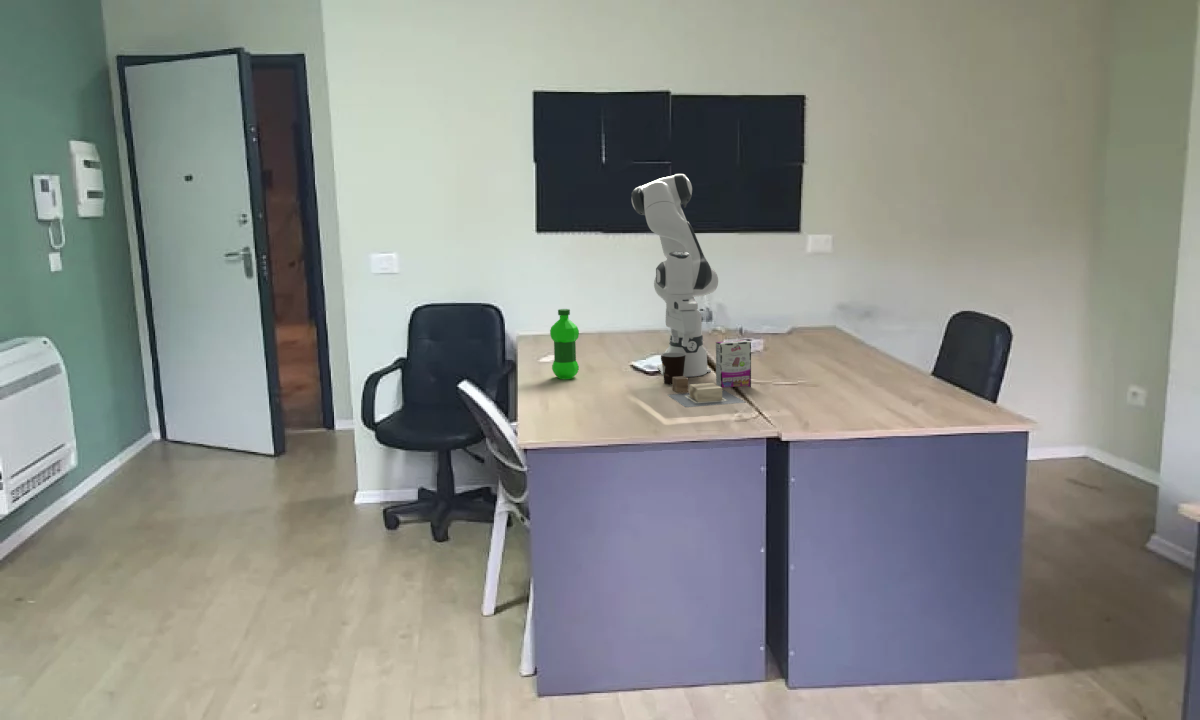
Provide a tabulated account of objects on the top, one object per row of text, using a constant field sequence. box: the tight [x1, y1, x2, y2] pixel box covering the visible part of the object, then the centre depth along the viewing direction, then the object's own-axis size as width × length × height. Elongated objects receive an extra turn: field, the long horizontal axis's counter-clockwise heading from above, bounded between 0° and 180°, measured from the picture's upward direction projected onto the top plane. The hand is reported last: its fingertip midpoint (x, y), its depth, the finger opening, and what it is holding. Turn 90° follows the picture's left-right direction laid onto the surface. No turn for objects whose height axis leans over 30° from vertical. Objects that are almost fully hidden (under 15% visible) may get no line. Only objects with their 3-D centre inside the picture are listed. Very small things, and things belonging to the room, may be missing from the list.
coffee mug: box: [660, 352, 686, 385], centre depth 330 cm, size 12×9×10 cm
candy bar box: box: [715, 339, 752, 388], centre depth 316 cm, size 11×5×16 cm, turn 105°
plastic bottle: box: [549, 308, 580, 380], centre depth 338 cm, size 10×10×25 cm
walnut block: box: [672, 376, 689, 394], centre depth 309 cm, size 4×4×6 cm
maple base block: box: [689, 382, 723, 402], centre depth 298 cm, size 8×8×4 cm
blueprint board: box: [667, 389, 747, 408], centre depth 298 cm, size 18×20×2 cm
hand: (680, 344), depth 306 cm, fingers open, 8 cm apart
